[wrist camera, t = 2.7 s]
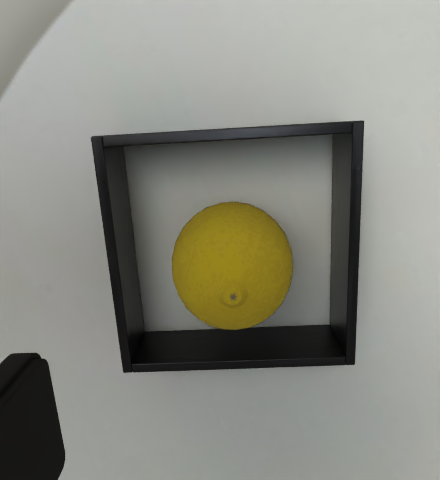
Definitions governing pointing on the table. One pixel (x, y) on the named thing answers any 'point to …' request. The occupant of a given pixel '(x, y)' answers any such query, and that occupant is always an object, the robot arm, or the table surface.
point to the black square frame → (248, 339)
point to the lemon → (232, 265)
